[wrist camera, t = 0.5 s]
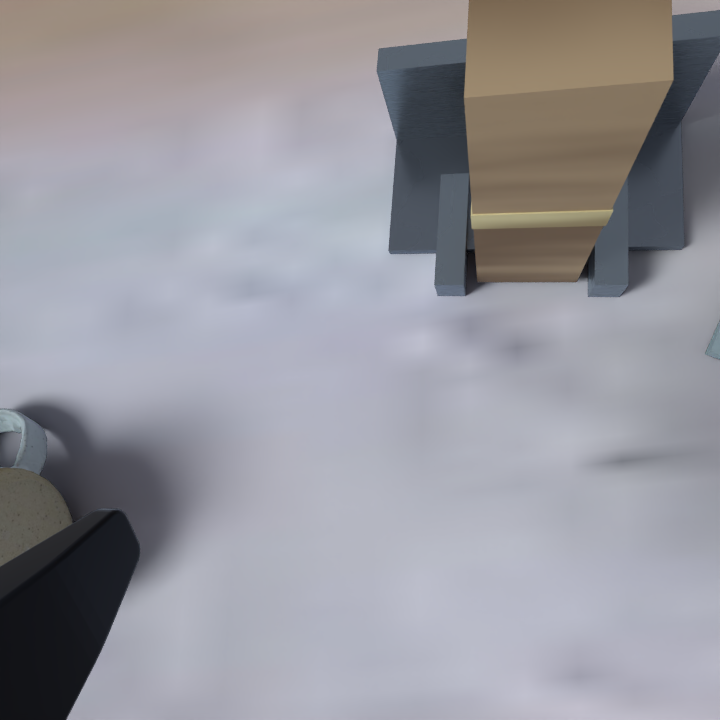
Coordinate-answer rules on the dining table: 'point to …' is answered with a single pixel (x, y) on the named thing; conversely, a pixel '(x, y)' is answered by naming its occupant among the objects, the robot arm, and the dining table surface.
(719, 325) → the mat
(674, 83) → the bracket
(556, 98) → the tan rectangular block
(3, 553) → the ceramic mug
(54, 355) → the dining table surface
